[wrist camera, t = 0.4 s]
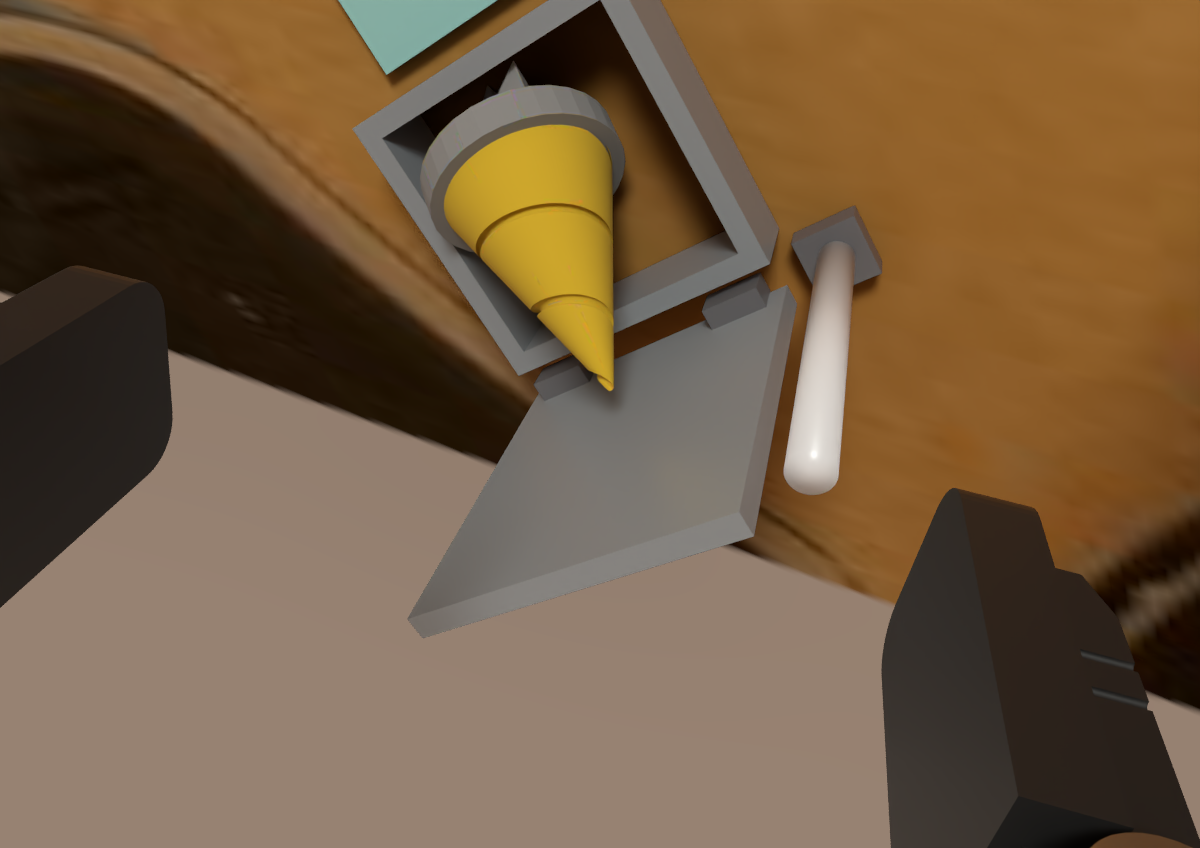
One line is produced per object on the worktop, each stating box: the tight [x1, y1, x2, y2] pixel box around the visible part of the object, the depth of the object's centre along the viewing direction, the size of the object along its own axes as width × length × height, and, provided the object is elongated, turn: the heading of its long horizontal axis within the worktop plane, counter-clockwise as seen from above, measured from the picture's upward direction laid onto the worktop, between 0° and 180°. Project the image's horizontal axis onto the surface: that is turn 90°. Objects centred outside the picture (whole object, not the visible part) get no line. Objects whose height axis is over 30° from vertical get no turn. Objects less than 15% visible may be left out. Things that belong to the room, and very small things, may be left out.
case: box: [353, 0, 882, 638], centre depth 23 cm, size 10×10×12 cm
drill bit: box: [420, 60, 625, 391], centre depth 25 cm, size 5×5×10 cm
